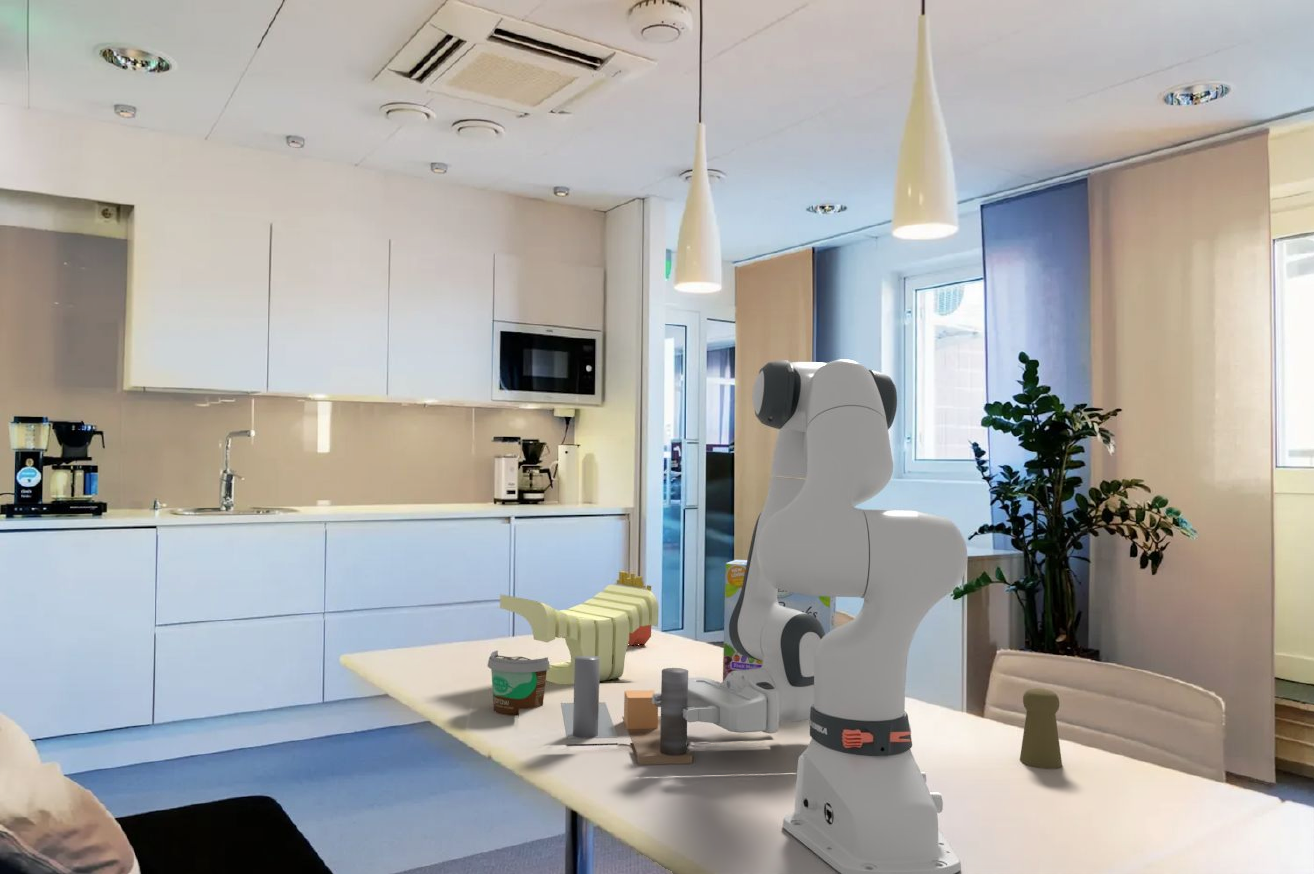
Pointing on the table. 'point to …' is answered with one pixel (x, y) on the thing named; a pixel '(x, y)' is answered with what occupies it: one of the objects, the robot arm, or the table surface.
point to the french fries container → (642, 632)
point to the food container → (517, 683)
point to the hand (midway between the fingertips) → (669, 707)
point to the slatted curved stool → (590, 627)
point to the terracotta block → (640, 710)
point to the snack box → (811, 605)
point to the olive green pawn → (1041, 730)
